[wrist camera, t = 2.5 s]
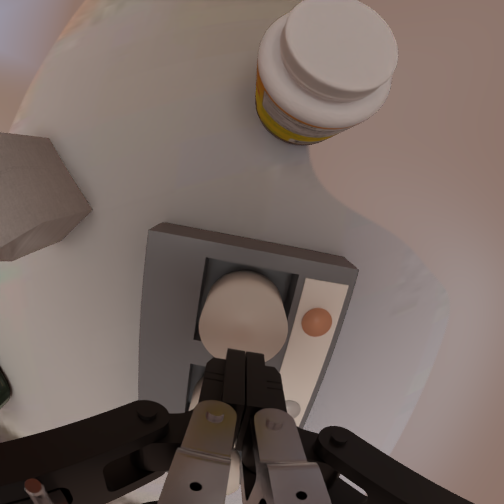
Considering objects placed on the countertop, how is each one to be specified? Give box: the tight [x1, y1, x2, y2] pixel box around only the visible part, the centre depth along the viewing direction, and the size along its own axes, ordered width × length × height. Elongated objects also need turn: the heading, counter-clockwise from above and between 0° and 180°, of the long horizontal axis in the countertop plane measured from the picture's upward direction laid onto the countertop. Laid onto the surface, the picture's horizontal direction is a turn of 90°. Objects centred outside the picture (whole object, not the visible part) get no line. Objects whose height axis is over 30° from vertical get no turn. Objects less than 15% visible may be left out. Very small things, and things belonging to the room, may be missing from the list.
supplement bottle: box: [255, 0, 398, 145], centre depth 13 cm, size 6×6×10 cm
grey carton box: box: [0, 133, 92, 261], centre depth 14 cm, size 4×7×10 cm, turn 35°
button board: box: [138, 222, 359, 484], centre depth 20 cm, size 21×12×3 cm, turn 169°
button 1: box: [226, 448, 240, 495], centre depth 20 cm, size 4×4×3 cm
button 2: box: [199, 270, 288, 362], centre depth 16 cm, size 4×4×3 cm
